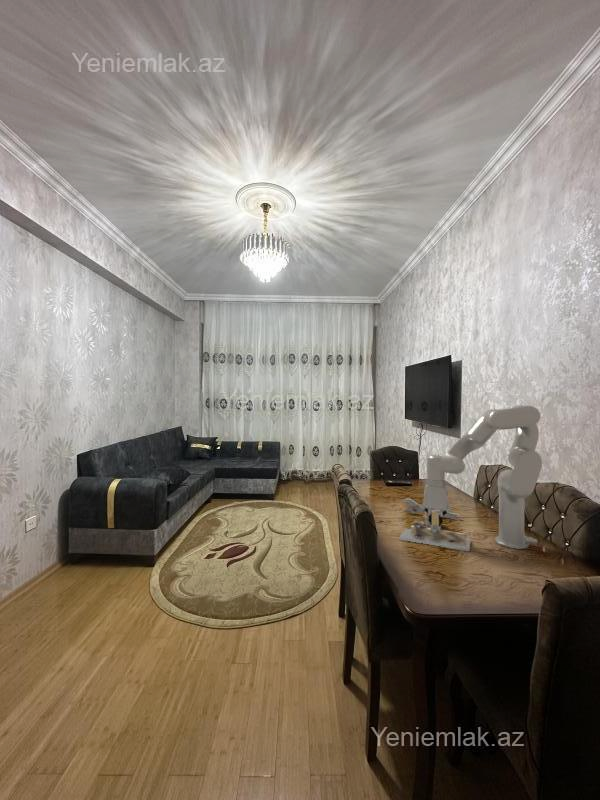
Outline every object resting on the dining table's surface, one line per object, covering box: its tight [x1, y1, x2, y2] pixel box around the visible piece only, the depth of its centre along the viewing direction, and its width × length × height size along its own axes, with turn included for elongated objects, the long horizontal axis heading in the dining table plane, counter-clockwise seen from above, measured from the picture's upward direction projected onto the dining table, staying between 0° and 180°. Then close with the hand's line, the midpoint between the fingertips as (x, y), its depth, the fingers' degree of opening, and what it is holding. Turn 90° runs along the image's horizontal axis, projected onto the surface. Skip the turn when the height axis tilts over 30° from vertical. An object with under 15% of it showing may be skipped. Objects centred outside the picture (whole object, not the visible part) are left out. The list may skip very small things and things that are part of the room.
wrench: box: [402, 497, 462, 521], centre depth 195 cm, size 8×2×30 cm
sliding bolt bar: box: [410, 520, 467, 541], centre depth 161 cm, size 23×6×5 cm, turn 63°
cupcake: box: [422, 509, 440, 528], centre depth 180 cm, size 9×9×10 cm
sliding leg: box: [429, 512, 442, 538], centre depth 162 cm, size 4×6×9 cm, turn 154°
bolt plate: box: [399, 527, 471, 552], centre depth 160 cm, size 28×12×2 cm, turn 63°
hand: (435, 524), depth 163 cm, fingers closed on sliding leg, 3 cm apart
